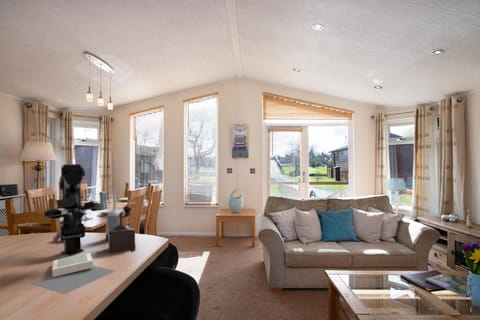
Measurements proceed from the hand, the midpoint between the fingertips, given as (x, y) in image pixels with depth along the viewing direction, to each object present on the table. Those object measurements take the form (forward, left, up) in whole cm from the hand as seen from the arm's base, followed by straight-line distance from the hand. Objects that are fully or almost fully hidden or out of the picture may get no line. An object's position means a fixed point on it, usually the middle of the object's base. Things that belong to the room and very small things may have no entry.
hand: (73, 232), depth 106 cm
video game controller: (-33, +18, -13) cm, 40 cm away
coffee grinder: (+2, +21, -12) cm, 25 cm away
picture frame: (+11, -7, -10) cm, 16 cm away
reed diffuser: (-13, +30, -12) cm, 35 cm away
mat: (+14, -9, -12) cm, 21 cm away
